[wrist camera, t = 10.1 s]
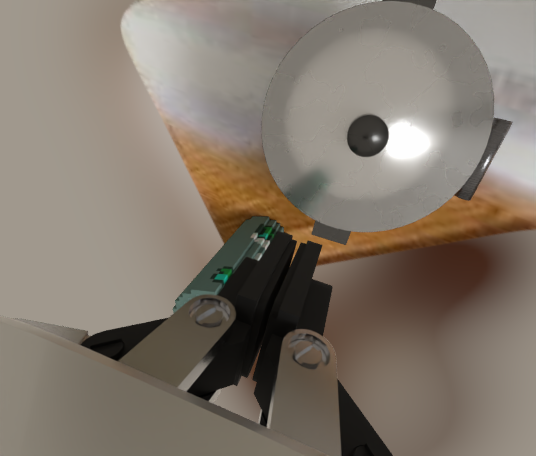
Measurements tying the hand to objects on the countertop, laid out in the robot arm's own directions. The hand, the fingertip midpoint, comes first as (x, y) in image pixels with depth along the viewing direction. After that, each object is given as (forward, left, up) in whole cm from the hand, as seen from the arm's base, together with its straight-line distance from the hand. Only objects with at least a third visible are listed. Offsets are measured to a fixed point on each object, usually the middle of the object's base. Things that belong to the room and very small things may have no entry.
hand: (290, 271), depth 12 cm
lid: (-2, -4, -13) cm, 14 cm away
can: (+5, +12, -23) cm, 26 cm away
